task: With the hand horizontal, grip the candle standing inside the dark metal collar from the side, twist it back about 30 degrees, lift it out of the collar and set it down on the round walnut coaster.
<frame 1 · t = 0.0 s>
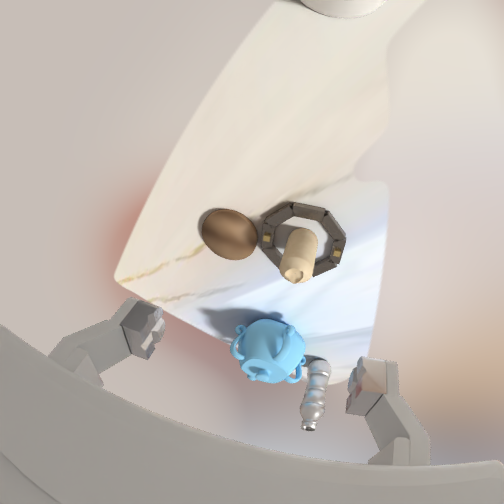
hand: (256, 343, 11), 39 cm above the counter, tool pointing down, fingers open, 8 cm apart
plastic bottle: (320, 362, 78), on the counter
candle: (303, 239, 55), resting in collar
collar: (303, 240, 55), on the counter
coaster: (230, 233, 59), on the counter
decorative pot: (275, 333, 75), on the counter
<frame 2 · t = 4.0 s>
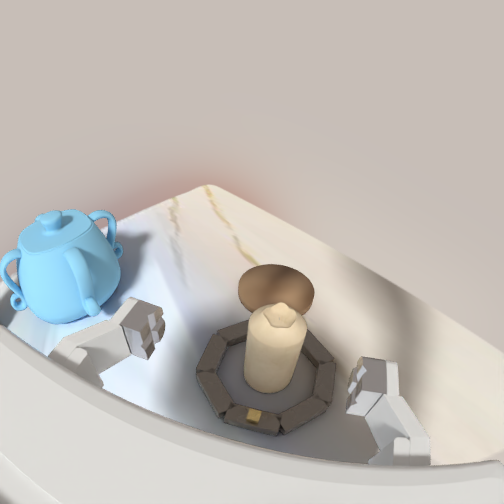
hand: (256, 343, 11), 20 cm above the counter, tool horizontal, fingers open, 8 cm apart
candle: (267, 374, 33), resting in collar
collar: (267, 373, 32), on the counter
coaster: (275, 293, 44), on the counter
decorative pot: (74, 296, 39), on the counter
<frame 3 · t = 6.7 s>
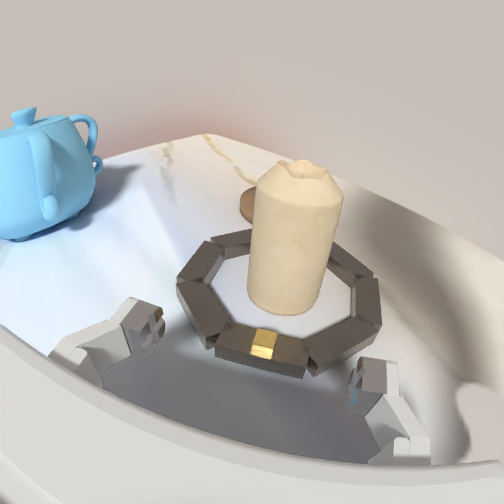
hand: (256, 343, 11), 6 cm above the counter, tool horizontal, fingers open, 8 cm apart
candle: (281, 293, 23), resting in collar
collar: (282, 291, 23), on the counter
coaster: (287, 211, 35), on the counter
decorative pot: (40, 218, 30), on the counter
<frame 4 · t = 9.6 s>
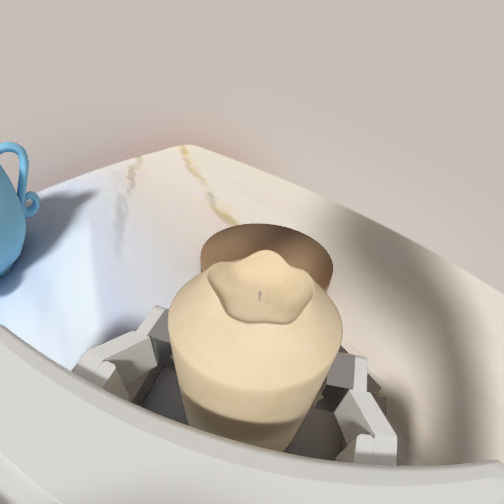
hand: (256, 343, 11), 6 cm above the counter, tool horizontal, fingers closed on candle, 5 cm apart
candle: (241, 425, 14), resting in collar, touching gripper
collar: (241, 423, 14), on the counter
coaster: (266, 267, 26), on the counter
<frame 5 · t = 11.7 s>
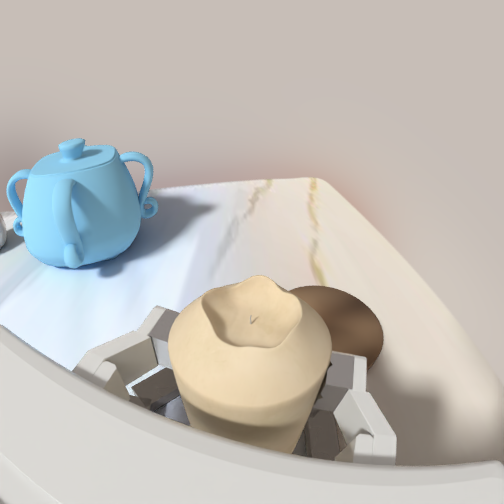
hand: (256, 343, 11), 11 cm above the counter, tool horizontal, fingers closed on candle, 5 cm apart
candle: (246, 435, 14), point 4 cm above the counter, touching gripper
collar: (227, 447, 17), on the counter
coaster: (324, 333, 27), on the counter
decorative pot: (87, 244, 35), on the counter
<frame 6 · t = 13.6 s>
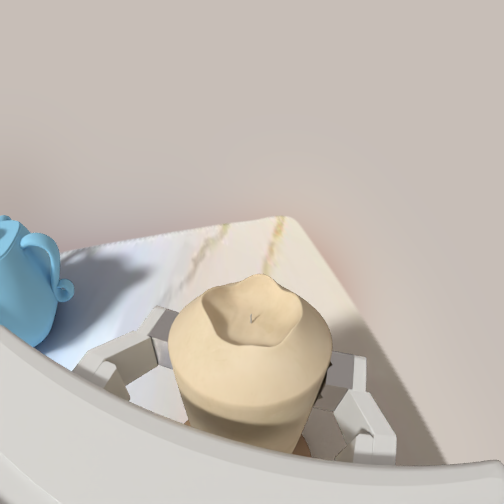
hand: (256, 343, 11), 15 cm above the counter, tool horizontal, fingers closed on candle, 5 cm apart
candle: (246, 435, 14), point 8 cm above the counter, touching gripper
decorative pot: (16, 323, 28), on the counter
when the fingers open (8 cm above the counter, at t = 15.2 s): candle stays where it is, resting on coaster.
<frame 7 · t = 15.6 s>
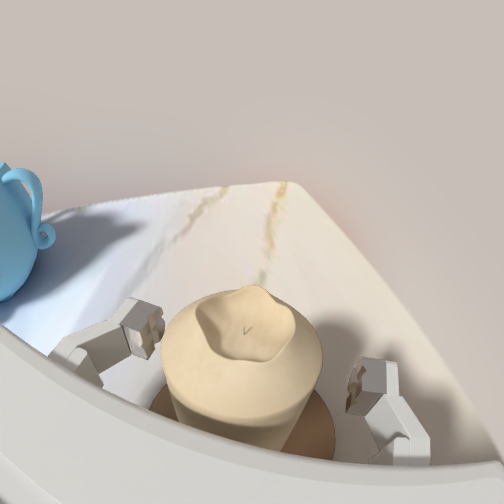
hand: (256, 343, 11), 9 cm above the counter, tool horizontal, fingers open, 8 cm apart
candle: (234, 435, 15), point 1 cm above the counter, touching coaster
coaster: (239, 438, 15), on the counter
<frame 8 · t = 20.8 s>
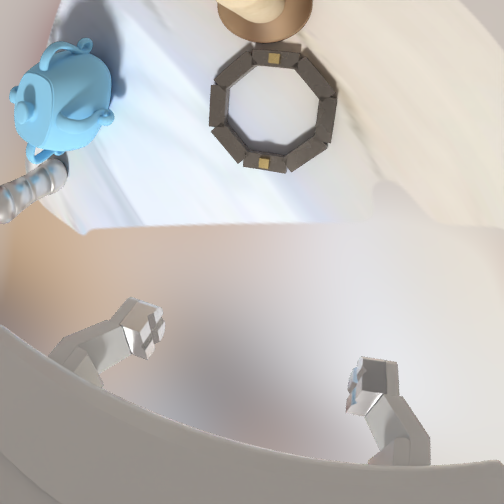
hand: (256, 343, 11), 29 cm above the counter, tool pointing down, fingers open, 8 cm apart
plastic bottle: (61, 171, 47), on the counter
candle: (261, 4, 25), point 1 cm above the counter, touching coaster
collar: (271, 110, 33), on the counter
coaster: (265, 3, 26), on the counter
decorative pot: (87, 95, 38), on the counter
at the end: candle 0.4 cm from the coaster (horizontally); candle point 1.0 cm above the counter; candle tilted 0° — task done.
